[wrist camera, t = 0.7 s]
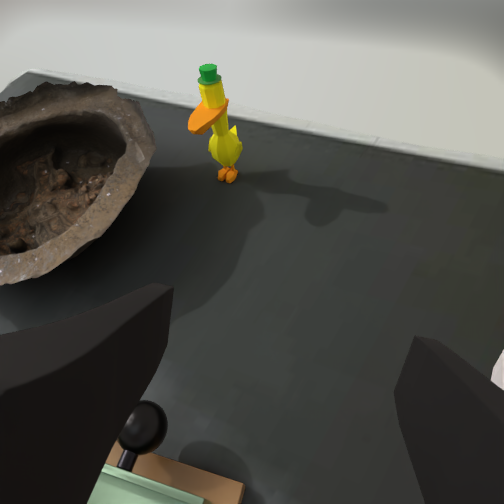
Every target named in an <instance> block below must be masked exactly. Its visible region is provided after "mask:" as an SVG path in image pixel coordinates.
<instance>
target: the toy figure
mask: <svg viewBox="0 0 504 504" xmlns="http://www.w3.org/2000/svg"><path fill="white" fill-rule="evenodd" d="M199 71H200V74H201V77H200V78H198V82H199V83H200V84H199V90H200V94H201V97H202V102H201V103H200V104H199V105H198V106H197V108H196V109H195V110H194V112H193V113H192V115H191V116H190V119H189V121H188V130H189V131H190V132H192V133H193V134H201V135H203V134H204V133H205V132H206V131H207V130H208V129H209V128H210V127H212V130H213V132H214V134H213V136H212V137H211V138H210V140H209V152H210V151H211V154H212V157H213V158H214V159H215V160H216V161H218V162H219V163H220V164H222V165H223V167H224V168H223V169H221V170H220V171H219V172H218V180H220V181H223V180H224V179H226V182H227V183H231V182H233V181H234V180H235V178H236V176H237V173H238V170H236V169H235V168H234V164H235V162H236V161H237V159H238V157H239V155H240V153H241V151H242V149H243V148H242V142H241V141H240V142H239V140H238V137H237V133H236V125H235V126H234V127H233V128H232V129H230V130H229V129H228V117H227V106H228V101H229V99H226V98H225V95H224V90H223V85H222V81H221V76H220V75H218V74H217V66H216V65H214V64H205V65H202V66H200V68H199ZM227 166H231V168H228V167H227Z"/></svg>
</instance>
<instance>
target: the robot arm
mask: <svg viewBox="0 0 504 504" xmlns="http://www.w3.org/2000/svg"><path fill="white" fill-rule="evenodd" d="M173 290H174V287H173V286H168V285H164V284H159V283H151V284H149V285H146V286H144V287H142V288H140V289H137V290H135V291H133V292H131V293H129V294H127V295H124V296H122V297H120V298H118V299H115V300H113V301H111V302H109V303H106V304H104V305H101V306H99V307H96V308H94V309H91V310H89V311H86V312H84V313H81V314H78V315H76V316H73V317H70V318H67V319H63V320H60V321H57V322H53V323H50V324H46V325H43V326H39V327H35V328H30V329H26V330H21V331H16V332H12V333H7V334H2V335H0V504H87V503H88V500H89V498H90V496H91V493H92V491H93V489H94V487H95V484H96V482H97V480H98V478H99V476H100V473H101V471H102V469H103V467H104V465H105V463H106V460H107V458H108V456H109V454H110V452H111V449H112V447H113V446H114V444H115V442H116V440H117V438H118V436H119V434H120V433H121V431H122V429H123V427H124V426H125V424H126V422H127V421H128V419H129V417H130V416H131V414H132V412H133V410H134V409H135V407H136V405H137V404H138V402H139V400H140V399H141V397H142V395H143V394H144V392H145V390H146V388H147V387H148V385H149V383H150V381H151V380H152V378H153V376H154V374H155V373H156V371H157V368H158V366H159V364H160V361H161V359H162V356H163V354H164V351H165V349H166V347H167V343H168V334H169V325H170V316H171V308H172V299H173ZM394 397H395V403H396V410H397V415H398V420H399V425H400V428H401V431H402V434H403V437H404V440H405V444H406V447H407V450H408V453H409V456H410V459H411V462H412V465H413V468H414V471H415V474H416V477H417V480H418V483H419V486H420V489H421V492H422V495H423V498H424V501H425V504H504V390H502V389H501V388H500V387H498V386H497V385H496V384H495V383H493V382H492V381H491V380H489V379H488V378H487V377H485V376H484V375H483V374H482V373H480V372H479V371H478V370H476V369H475V368H474V367H473V366H471V365H470V364H469V363H467V362H466V361H465V360H464V359H462V358H461V357H460V356H458V355H457V354H456V353H454V352H453V351H452V350H450V349H449V348H448V347H446V346H445V345H443V344H442V343H440V342H438V341H437V340H434V339H429V338H424V337H419V336H414V339H413V342H412V344H411V347H410V350H409V352H408V355H407V358H406V360H405V363H404V366H403V368H402V371H401V374H400V376H399V379H398V382H397V384H396V387H395V390H394Z"/></svg>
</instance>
